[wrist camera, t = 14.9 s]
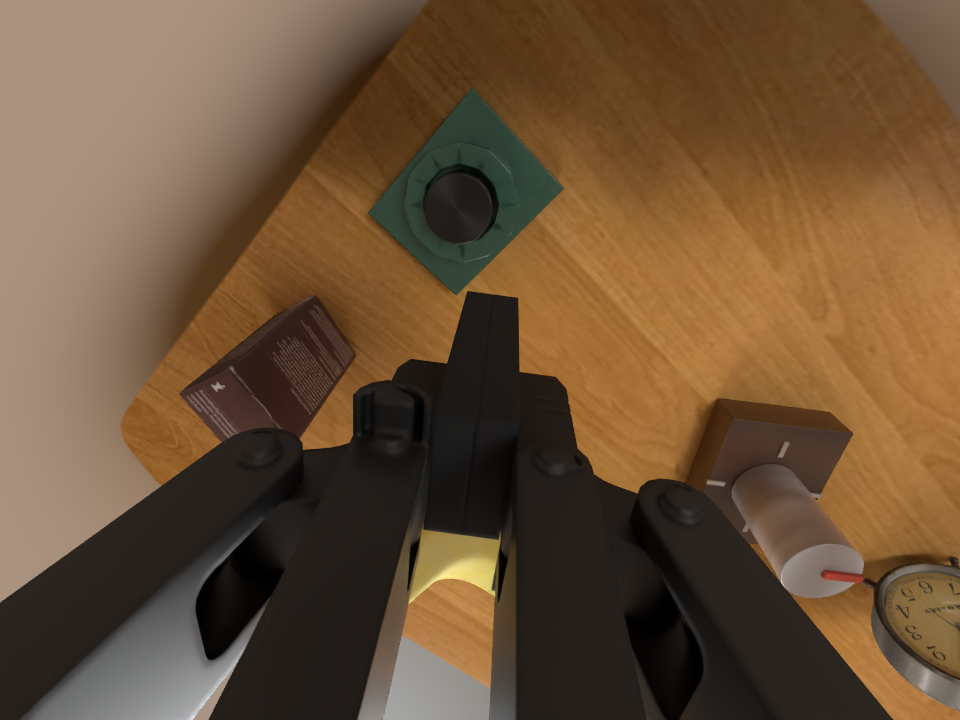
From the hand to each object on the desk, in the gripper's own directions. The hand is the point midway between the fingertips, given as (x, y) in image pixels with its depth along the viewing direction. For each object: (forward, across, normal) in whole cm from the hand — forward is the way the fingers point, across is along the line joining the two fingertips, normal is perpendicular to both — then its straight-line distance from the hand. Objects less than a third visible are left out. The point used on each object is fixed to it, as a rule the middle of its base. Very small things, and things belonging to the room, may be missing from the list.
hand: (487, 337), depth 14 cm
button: (+17, -3, +1) cm, 18 cm away
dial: (+18, +24, -18) cm, 34 cm away
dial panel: (+21, +24, -18) cm, 36 cm away
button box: (+21, -3, +1) cm, 21 cm away
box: (+21, -14, -11) cm, 27 cm away
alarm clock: (+21, +42, -28) cm, 54 cm away
